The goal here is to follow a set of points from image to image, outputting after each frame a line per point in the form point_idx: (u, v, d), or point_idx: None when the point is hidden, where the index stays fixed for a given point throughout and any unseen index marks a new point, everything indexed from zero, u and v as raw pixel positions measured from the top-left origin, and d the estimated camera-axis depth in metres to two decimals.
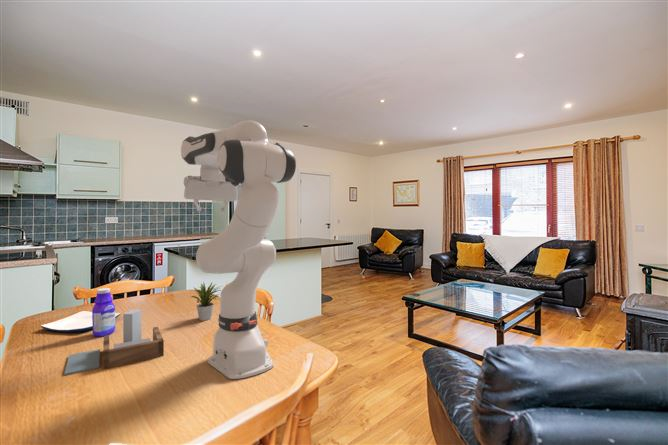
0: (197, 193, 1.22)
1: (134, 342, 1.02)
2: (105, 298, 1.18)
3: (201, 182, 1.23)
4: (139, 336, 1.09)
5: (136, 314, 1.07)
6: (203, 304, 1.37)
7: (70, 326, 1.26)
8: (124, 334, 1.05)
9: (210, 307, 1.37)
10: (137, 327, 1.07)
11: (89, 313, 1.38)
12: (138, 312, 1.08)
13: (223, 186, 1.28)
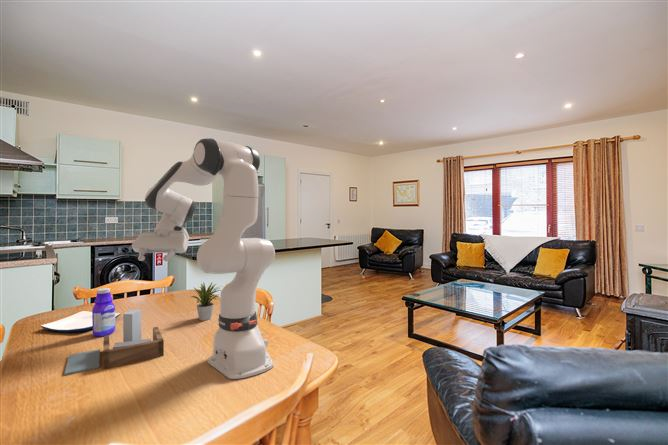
0: (143, 242, 1.22)
1: (134, 342, 1.02)
2: (105, 298, 1.18)
3: (151, 234, 1.25)
4: (139, 336, 1.09)
5: (136, 314, 1.07)
6: (203, 304, 1.37)
7: (70, 326, 1.26)
8: (124, 334, 1.05)
9: (210, 307, 1.37)
10: (137, 327, 1.07)
11: (89, 313, 1.38)
12: (138, 312, 1.08)
13: (171, 236, 1.25)
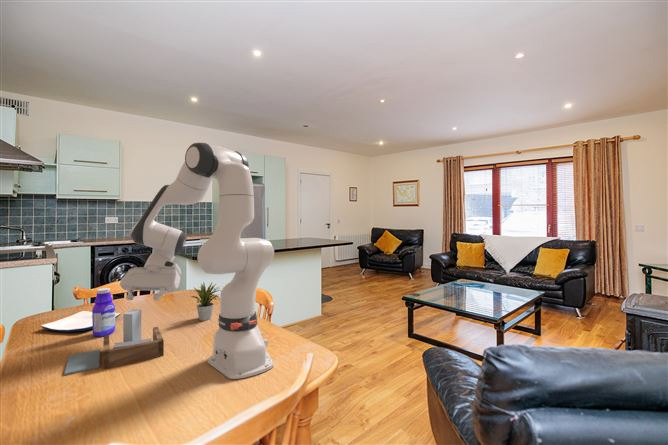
0: (132, 280, 1.16)
1: (134, 342, 1.02)
2: (105, 298, 1.18)
3: (141, 270, 1.19)
4: (139, 336, 1.09)
5: (136, 314, 1.07)
6: (203, 304, 1.37)
7: (70, 326, 1.26)
8: (124, 334, 1.05)
9: (210, 307, 1.37)
10: (137, 327, 1.07)
11: (89, 313, 1.38)
12: (138, 312, 1.08)
13: (162, 272, 1.18)
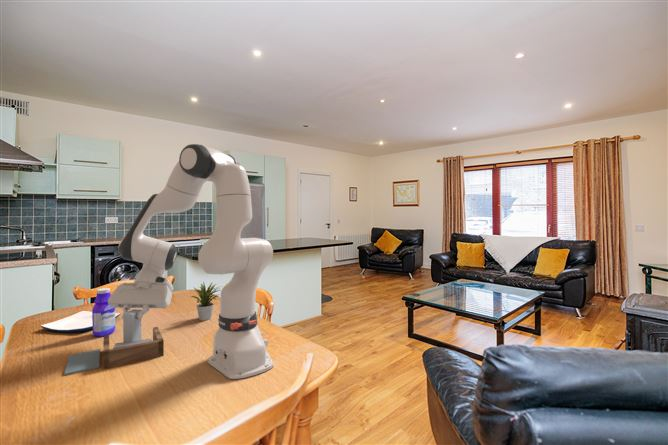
0: (121, 297, 1.10)
1: (135, 342, 1.02)
2: (105, 298, 1.18)
3: (131, 286, 1.13)
4: (139, 336, 1.09)
5: None
6: (203, 304, 1.37)
7: (70, 326, 1.26)
8: (124, 334, 1.05)
9: (210, 307, 1.37)
10: (137, 327, 1.07)
11: (89, 313, 1.38)
12: None
13: (153, 288, 1.12)
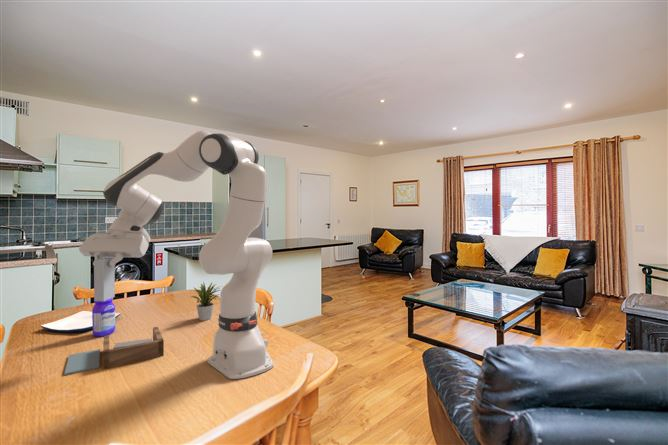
0: (93, 245, 1.04)
1: (135, 342, 1.02)
2: None
3: (104, 234, 1.07)
4: (112, 286, 1.03)
5: None
6: (203, 304, 1.37)
7: (70, 326, 1.26)
8: (95, 282, 0.99)
9: (210, 307, 1.37)
10: (109, 275, 1.01)
11: (89, 313, 1.38)
12: None
13: (128, 237, 1.06)
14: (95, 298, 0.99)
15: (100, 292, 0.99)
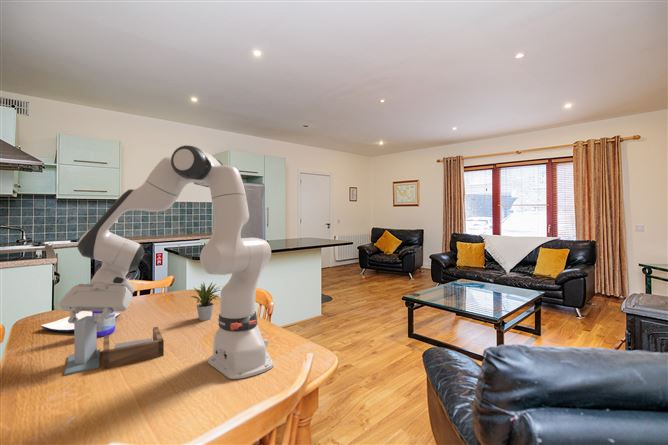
0: (74, 299, 1.00)
1: (135, 342, 1.02)
2: None
3: (86, 287, 1.03)
4: (94, 345, 0.99)
5: (89, 321, 0.97)
6: (203, 304, 1.37)
7: (70, 326, 1.26)
8: (75, 344, 0.95)
9: (210, 307, 1.37)
10: (91, 335, 0.98)
11: (89, 313, 1.38)
12: (92, 319, 0.99)
13: (110, 290, 1.03)
14: (76, 361, 0.95)
15: (81, 354, 0.95)
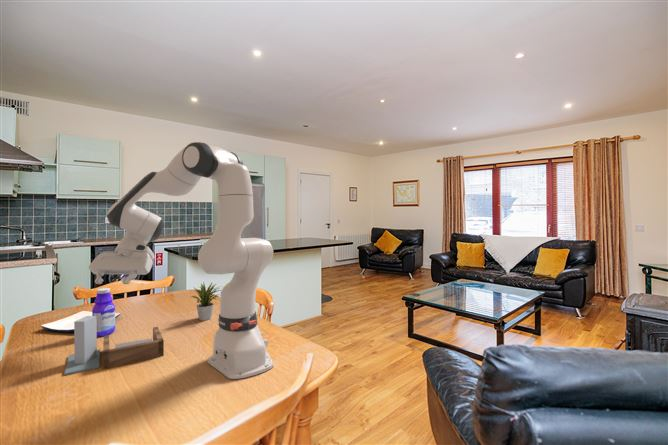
0: (102, 263, 1.12)
1: (135, 342, 1.02)
2: (105, 298, 1.18)
3: (112, 253, 1.15)
4: (94, 345, 0.99)
5: (89, 321, 0.97)
6: (203, 304, 1.37)
7: (70, 326, 1.26)
8: (75, 344, 0.95)
9: (210, 307, 1.37)
10: (91, 335, 0.98)
11: (89, 313, 1.38)
12: (92, 319, 0.99)
13: (134, 256, 1.15)
14: (76, 361, 0.95)
15: (81, 354, 0.95)
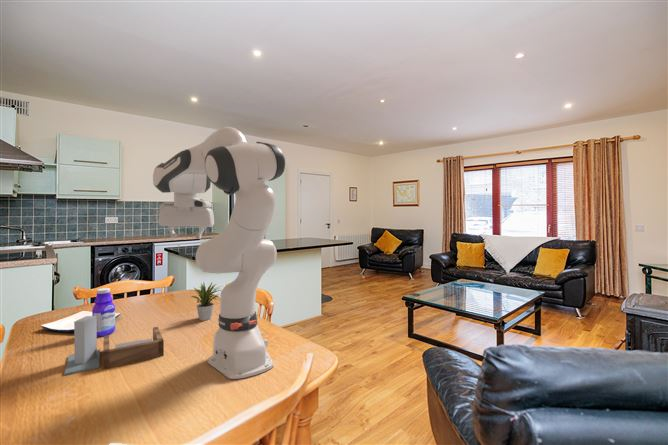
0: (169, 220, 1.19)
1: (135, 342, 1.02)
2: (105, 298, 1.18)
3: (173, 208, 1.19)
4: (94, 345, 0.99)
5: (89, 321, 0.97)
6: (203, 304, 1.37)
7: (70, 326, 1.26)
8: (75, 344, 0.95)
9: (210, 307, 1.37)
10: (91, 335, 0.98)
11: (89, 313, 1.38)
12: (92, 319, 0.99)
13: (195, 211, 1.19)
14: (76, 361, 0.95)
15: (81, 354, 0.95)
